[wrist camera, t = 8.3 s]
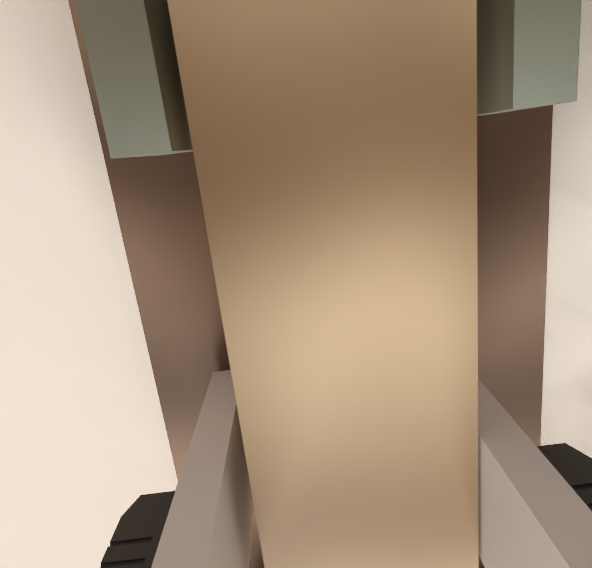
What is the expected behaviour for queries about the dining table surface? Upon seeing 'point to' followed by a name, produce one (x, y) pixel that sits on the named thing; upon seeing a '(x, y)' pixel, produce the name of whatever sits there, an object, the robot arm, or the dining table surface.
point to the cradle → (191, 223)
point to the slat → (345, 266)
